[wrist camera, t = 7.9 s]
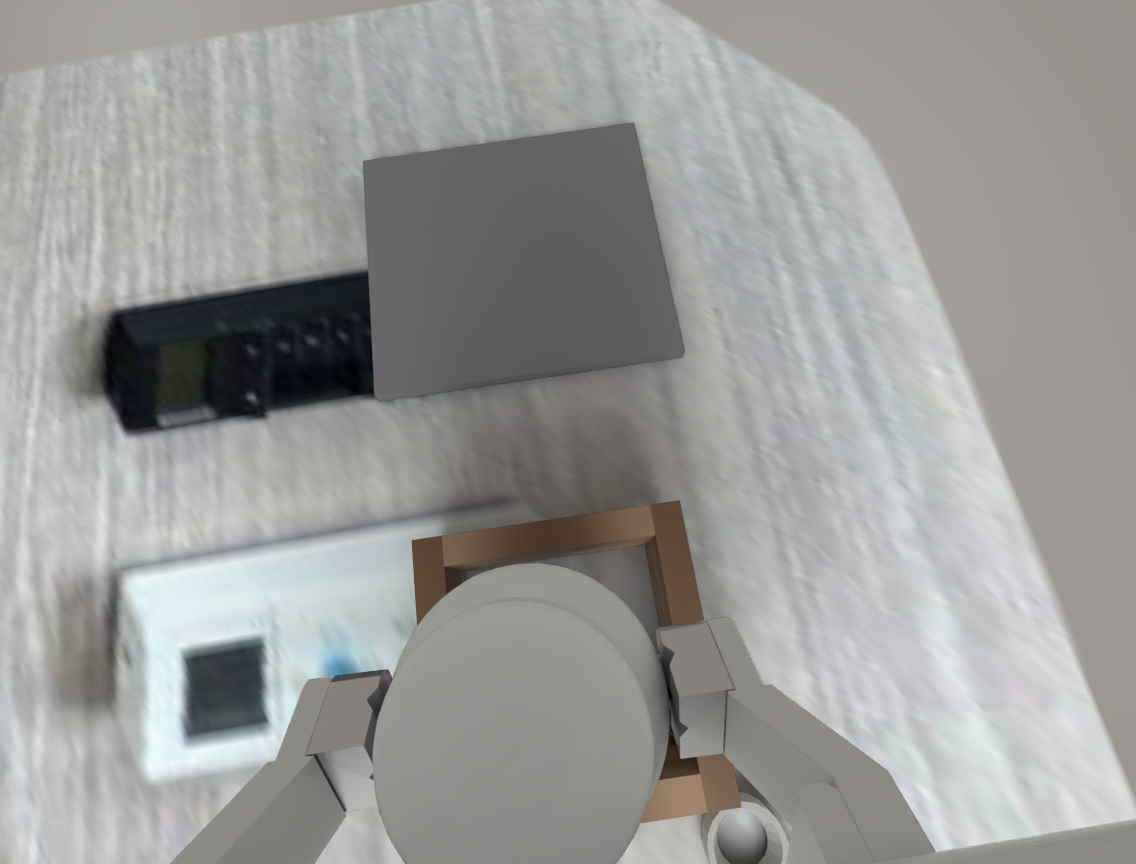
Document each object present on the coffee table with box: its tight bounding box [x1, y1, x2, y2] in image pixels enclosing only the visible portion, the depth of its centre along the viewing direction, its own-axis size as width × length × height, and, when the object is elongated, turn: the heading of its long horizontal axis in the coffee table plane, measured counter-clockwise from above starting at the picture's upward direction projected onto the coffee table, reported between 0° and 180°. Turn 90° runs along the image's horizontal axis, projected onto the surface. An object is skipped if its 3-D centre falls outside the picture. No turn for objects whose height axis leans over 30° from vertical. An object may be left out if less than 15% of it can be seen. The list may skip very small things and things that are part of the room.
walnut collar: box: [412, 500, 742, 823], centre depth 19 cm, size 9×9×4 cm
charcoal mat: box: [363, 123, 685, 401], centre depth 25 cm, size 13×12×1 cm
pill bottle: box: [372, 563, 670, 864], centre depth 12 cm, size 5×5×10 cm
